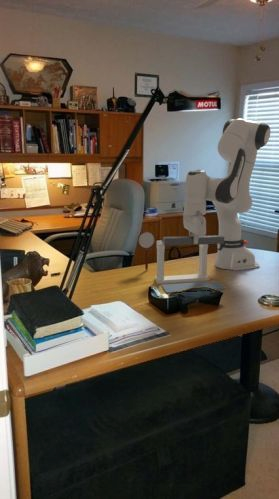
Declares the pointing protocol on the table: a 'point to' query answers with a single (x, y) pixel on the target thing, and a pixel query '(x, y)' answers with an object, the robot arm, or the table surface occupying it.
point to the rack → (181, 278)
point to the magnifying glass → (146, 244)
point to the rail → (189, 240)
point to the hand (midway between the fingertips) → (193, 242)
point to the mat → (183, 286)
